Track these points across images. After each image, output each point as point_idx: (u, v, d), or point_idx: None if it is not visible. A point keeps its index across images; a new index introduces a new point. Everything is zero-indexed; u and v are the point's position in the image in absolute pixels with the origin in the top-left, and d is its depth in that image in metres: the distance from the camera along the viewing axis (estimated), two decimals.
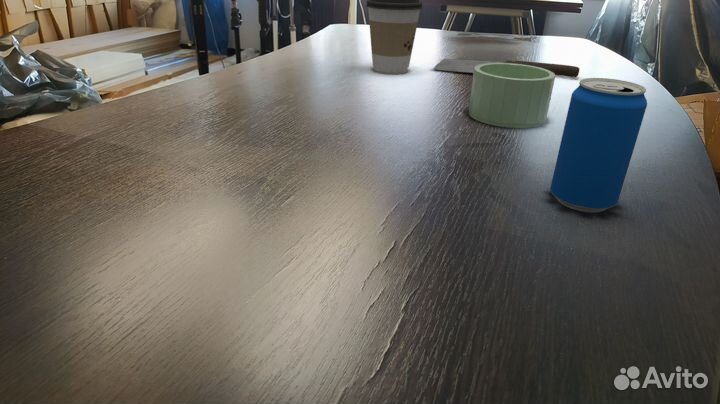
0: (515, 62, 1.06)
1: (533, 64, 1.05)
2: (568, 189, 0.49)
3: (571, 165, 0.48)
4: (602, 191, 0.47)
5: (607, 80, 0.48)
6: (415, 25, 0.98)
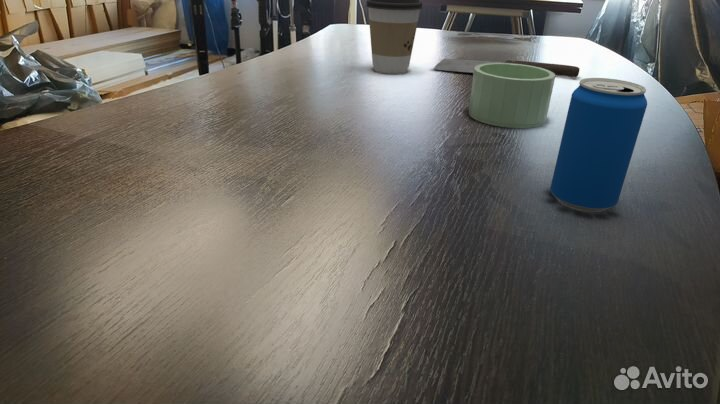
0: (515, 62, 1.06)
1: (533, 64, 1.05)
2: (568, 189, 0.49)
3: (571, 165, 0.48)
4: (602, 191, 0.47)
5: (607, 80, 0.48)
6: (415, 25, 0.98)
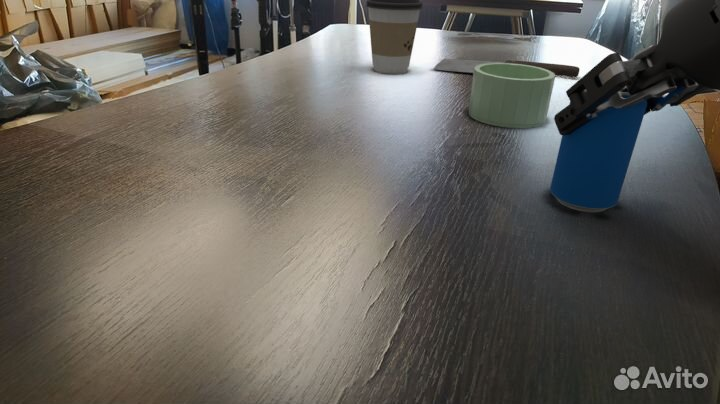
0: (515, 62, 1.06)
1: (533, 64, 1.05)
2: (567, 189, 0.49)
3: (571, 165, 0.48)
4: (602, 191, 0.47)
5: None
6: (415, 25, 0.98)
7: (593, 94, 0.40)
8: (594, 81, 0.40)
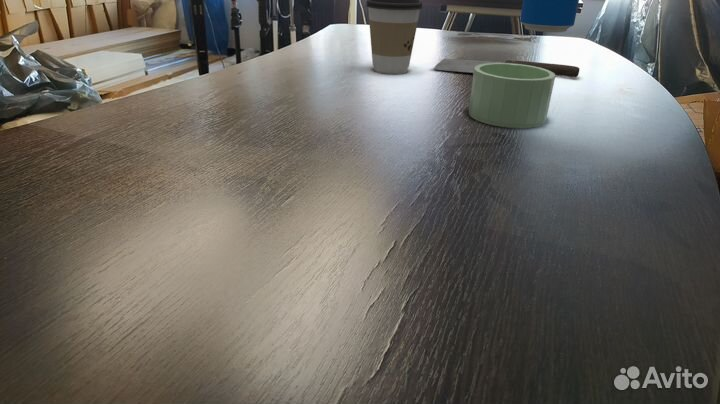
0: (515, 62, 1.06)
1: (533, 64, 1.05)
2: (532, 12, 0.60)
3: None
4: (559, 10, 0.59)
5: None
6: (415, 25, 0.98)
7: None
8: None
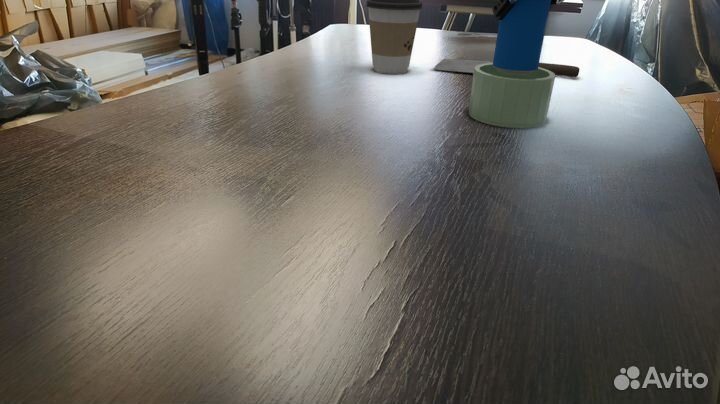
0: None
1: None
2: (502, 59, 0.71)
3: (503, 40, 0.71)
4: (524, 58, 0.70)
5: None
6: (415, 25, 0.98)
7: None
8: None
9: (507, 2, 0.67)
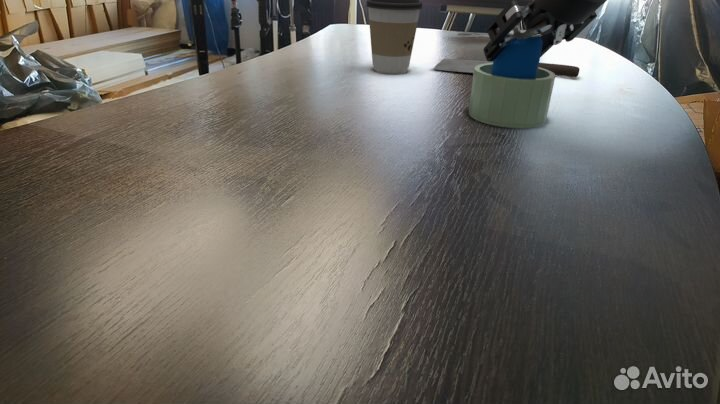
0: None
1: None
2: None
3: None
4: None
5: None
6: (415, 25, 0.98)
7: (501, 27, 0.65)
8: (502, 19, 0.65)
9: (497, 46, 0.69)
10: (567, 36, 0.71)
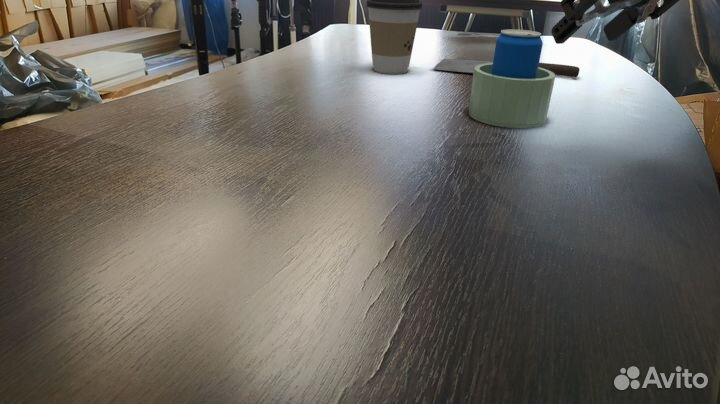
0: None
1: None
2: None
3: None
4: None
5: (520, 31, 0.74)
6: (415, 25, 0.98)
7: None
8: None
9: (572, 24, 0.57)
10: (654, 12, 0.59)
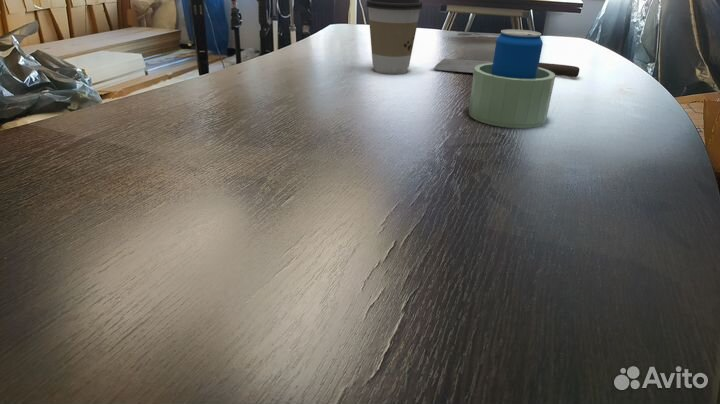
0: None
1: None
2: None
3: None
4: None
5: (520, 31, 0.74)
6: (415, 25, 0.98)
7: None
8: None
9: None
10: None
